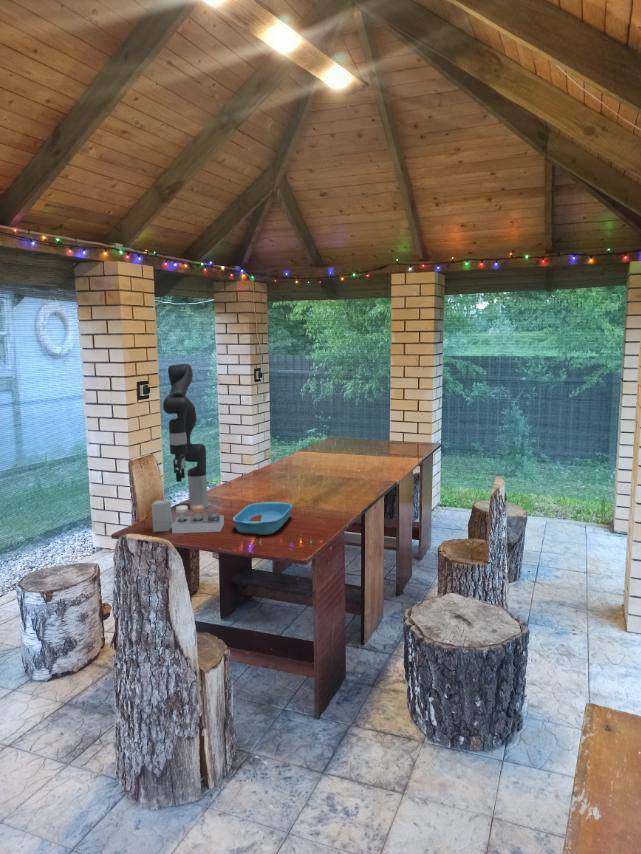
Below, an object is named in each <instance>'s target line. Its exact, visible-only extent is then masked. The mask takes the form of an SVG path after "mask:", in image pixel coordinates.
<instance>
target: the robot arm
mask: <svg viewBox="0 0 641 854" xmlns="http://www.w3.org/2000/svg"><path fill="white" fill-rule="evenodd" d="M167 374H168V379H169V382H170V383H169V384H170V387H171V388H170V390H169V391H170V392H169V394H168V395H166V397H165V398H164V400H163V403H162V408H163V411H164V412H165V413H166V414H168V415H172V414H176V417H177V418H172V419H170V420H169V421H168V430H169V433H168V434H169V437H168V439H169V441H168V442H169V454H171V455H174V458H173V460H172V461H173V462H172V463H173V473H174V474H175V480H176V482H177V483H181V482H182V479H184V478H185V477H186V474H185V472H186V471H185V469H186V463H187V462H188V463H196V466H195V467H192V468H189V469H188V470H187V483H188V484H187V485H188V487H187V488H188V500H189V509H190V510H192V506H193V505H203V509H204V510H205V509H208V507H209V503H208V500H209V499H208V486H207V485H208V484H207V483H208V482H207V447H206V445H204V444H203V443H191V442H192V441H191V435H192V432H193V431H194V428H195V426H196V424H197V419H198V418H197V417H198V416H197V414H196V413H197V411H196V407H195V405H194V404H193V403H192V401H191V400H190V399H189V398H188V397H187V396H186V395H187V392H188V390H189V389H188V388H189V387H190V385H191V383H192V381H193V375H194V374H193V369H192V365H190V364H188V363H179V364H171V365H169V366H168V367H167Z"/></svg>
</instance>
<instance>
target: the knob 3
mask: <svg viewBox="0 0 641 854" xmlns="http://www.w3.org/2000/svg"><path fill="white" fill-rule="evenodd" d="M220 515H221V514H220V512H211V513H208V514H207V516H208V520H218V519H220Z"/></svg>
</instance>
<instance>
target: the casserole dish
mask: <svg viewBox="0 0 641 854" xmlns="http://www.w3.org/2000/svg"><path fill="white" fill-rule="evenodd" d="M292 508H293V504H292V503H289V502H280V501H266V502H265V501H264V502H255V503H250V504H249V505H247V506H245V507H244V508H243V509H241V511H239V512H238V513H236V515H234V516H233V517H232V521H233V523H234V526H235V528H236V530H237V532H238V533H243V534H256V536H257V535H261V536H262V535H272V534H274V533H276V532H277V531H279V530H280V529H281V527H283V525H284V524H285V523H286V522H287V521H288V519H289V517H290V516H291V512H292ZM257 516H261V517H260V521H259V520H258V521H255V520H254V521H253V520H251V519H252V518H254V517H257ZM250 520H251V521H250Z"/></svg>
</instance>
